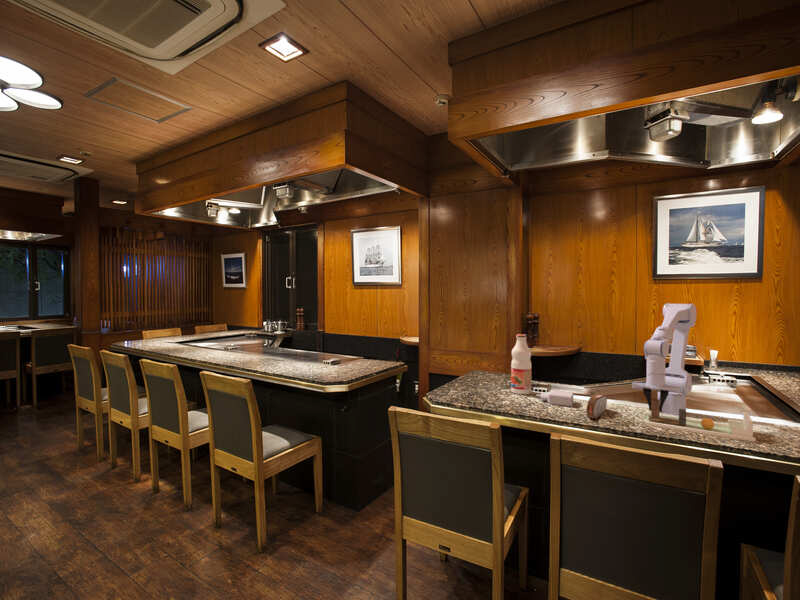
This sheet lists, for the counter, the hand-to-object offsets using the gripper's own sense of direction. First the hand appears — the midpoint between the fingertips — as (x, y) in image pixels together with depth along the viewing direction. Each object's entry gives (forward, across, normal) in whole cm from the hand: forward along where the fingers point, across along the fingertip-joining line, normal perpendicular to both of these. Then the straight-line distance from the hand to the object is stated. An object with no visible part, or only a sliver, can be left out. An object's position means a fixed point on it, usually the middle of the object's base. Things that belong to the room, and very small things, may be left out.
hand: (655, 410), depth 145 cm
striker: (+4, +3, 0) cm, 5 cm away
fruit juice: (+6, -55, +21) cm, 59 cm away
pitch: (+5, +12, 0) cm, 13 cm away
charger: (+6, -38, +12) cm, 40 cm away
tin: (+6, -19, 0) cm, 20 cm away
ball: (+2, +15, 0) cm, 15 cm away
